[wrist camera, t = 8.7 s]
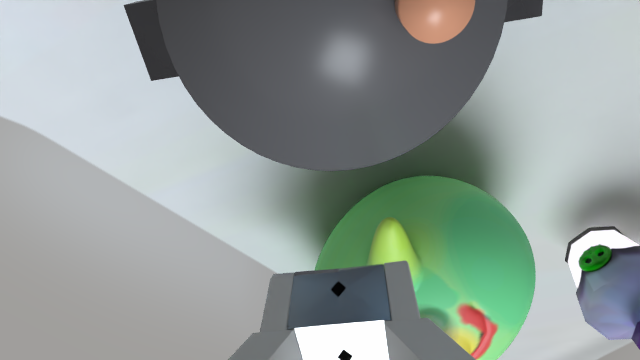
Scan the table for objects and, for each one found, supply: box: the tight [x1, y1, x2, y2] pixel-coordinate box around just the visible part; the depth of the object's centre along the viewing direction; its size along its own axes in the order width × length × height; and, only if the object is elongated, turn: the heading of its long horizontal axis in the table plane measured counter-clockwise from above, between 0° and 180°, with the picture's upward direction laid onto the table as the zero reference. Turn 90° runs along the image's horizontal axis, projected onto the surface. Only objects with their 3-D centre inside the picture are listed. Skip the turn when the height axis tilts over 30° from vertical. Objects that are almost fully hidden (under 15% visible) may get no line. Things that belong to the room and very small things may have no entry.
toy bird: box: [315, 176, 535, 360], centre depth 33 cm, size 18×17×15 cm
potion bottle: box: [565, 227, 640, 349], centre depth 34 cm, size 9×9×12 cm
